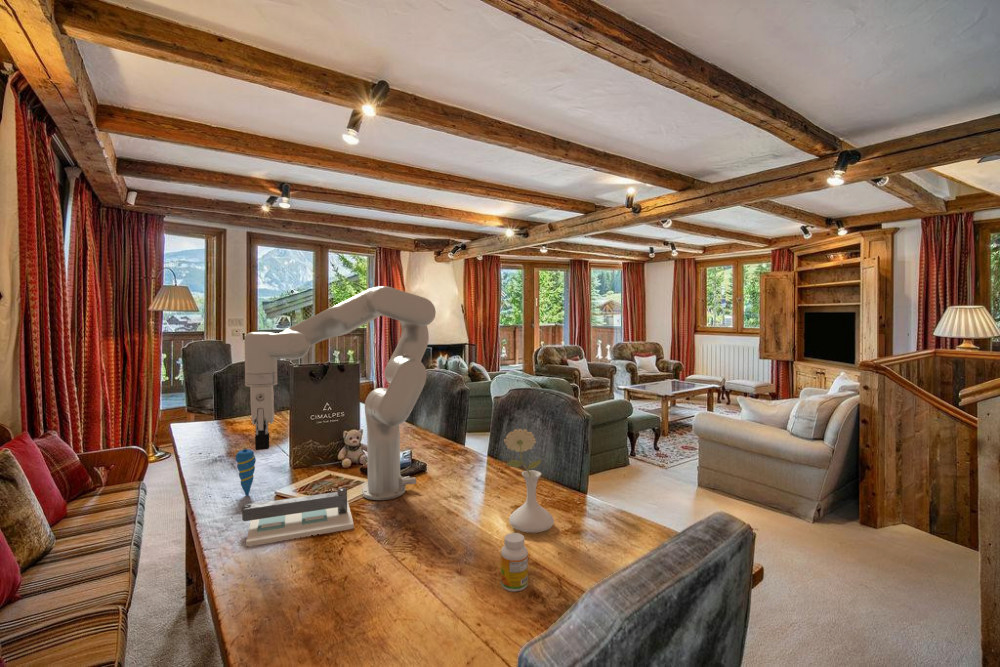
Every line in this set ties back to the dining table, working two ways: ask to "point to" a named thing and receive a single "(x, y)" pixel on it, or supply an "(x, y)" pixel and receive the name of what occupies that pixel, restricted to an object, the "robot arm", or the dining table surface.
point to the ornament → (246, 468)
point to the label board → (298, 525)
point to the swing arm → (296, 505)
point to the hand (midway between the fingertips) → (262, 448)
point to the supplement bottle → (514, 563)
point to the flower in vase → (530, 512)
